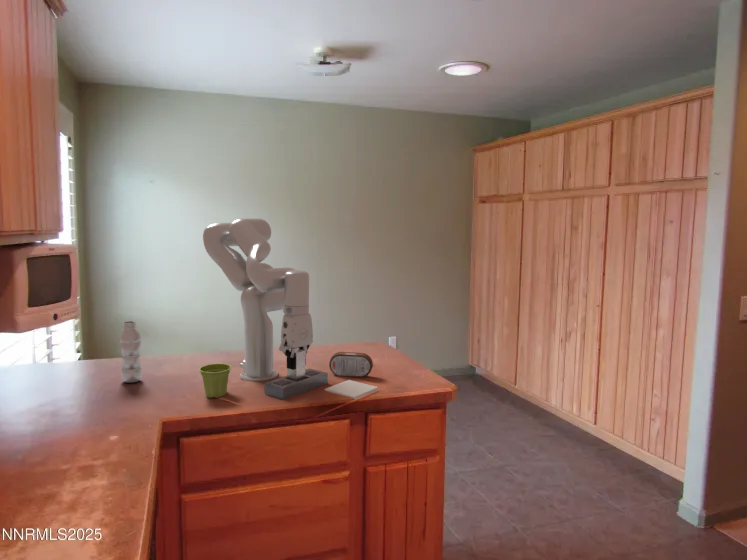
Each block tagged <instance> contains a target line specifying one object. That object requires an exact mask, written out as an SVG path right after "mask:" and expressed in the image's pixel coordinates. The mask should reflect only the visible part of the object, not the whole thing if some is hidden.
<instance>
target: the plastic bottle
mask: <svg viewBox="0 0 747 560" xmlns="http://www.w3.org/2000/svg"><path fill="white" fill-rule="evenodd" d="M122 326H123V331H122V332H121V333H120V336H119V344H120V349H121V357H122V359H121V370H120V379H121V380H122V382H124V383H127V384H128V383H130V384H131V383H137V382H140V381H141V380H142V378H143V369H142V365H141V344H142V343H141V342H142V336H141V334H140V332H139V331H138V330H137V323H136V321H134V320H128V321H123V325H122Z"/></svg>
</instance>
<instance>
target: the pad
mask: <svg viewBox="0 0 747 560" xmlns="http://www.w3.org/2000/svg"><path fill="white" fill-rule="evenodd" d="M378 390H379V387H378V386H376V385H371V384H367V383H363V382H360V381H355V380H351V379H347V380H345V381H343V382H339V383H336V384H334V385H331V386H329V387H326V388H324V392H327V393H331V394H334V395H335V394H336V395H338V396H339V395H340V396H343V397H347V398H349V399H352V400H353V401H355V400H358V399H360V398H361V399H362V398H363V397H366V396H367V395H370V394H372V393H375V392H376V391H378Z"/></svg>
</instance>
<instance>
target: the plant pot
mask: <svg viewBox="0 0 747 560" xmlns="http://www.w3.org/2000/svg"><path fill="white" fill-rule="evenodd" d="M231 370H232V365H230V364H227V363H211V364H206V365H203V366H201V367H199V368H198V371H199V372H200V375H201V376H202V380H203V381H202V384H203V388H204V394H205V396H206V398H209V399H212V398H216V399H219V398H221V397H222V396H225V395H226V394H227V391H228V382H229V374H230V371H231Z"/></svg>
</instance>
